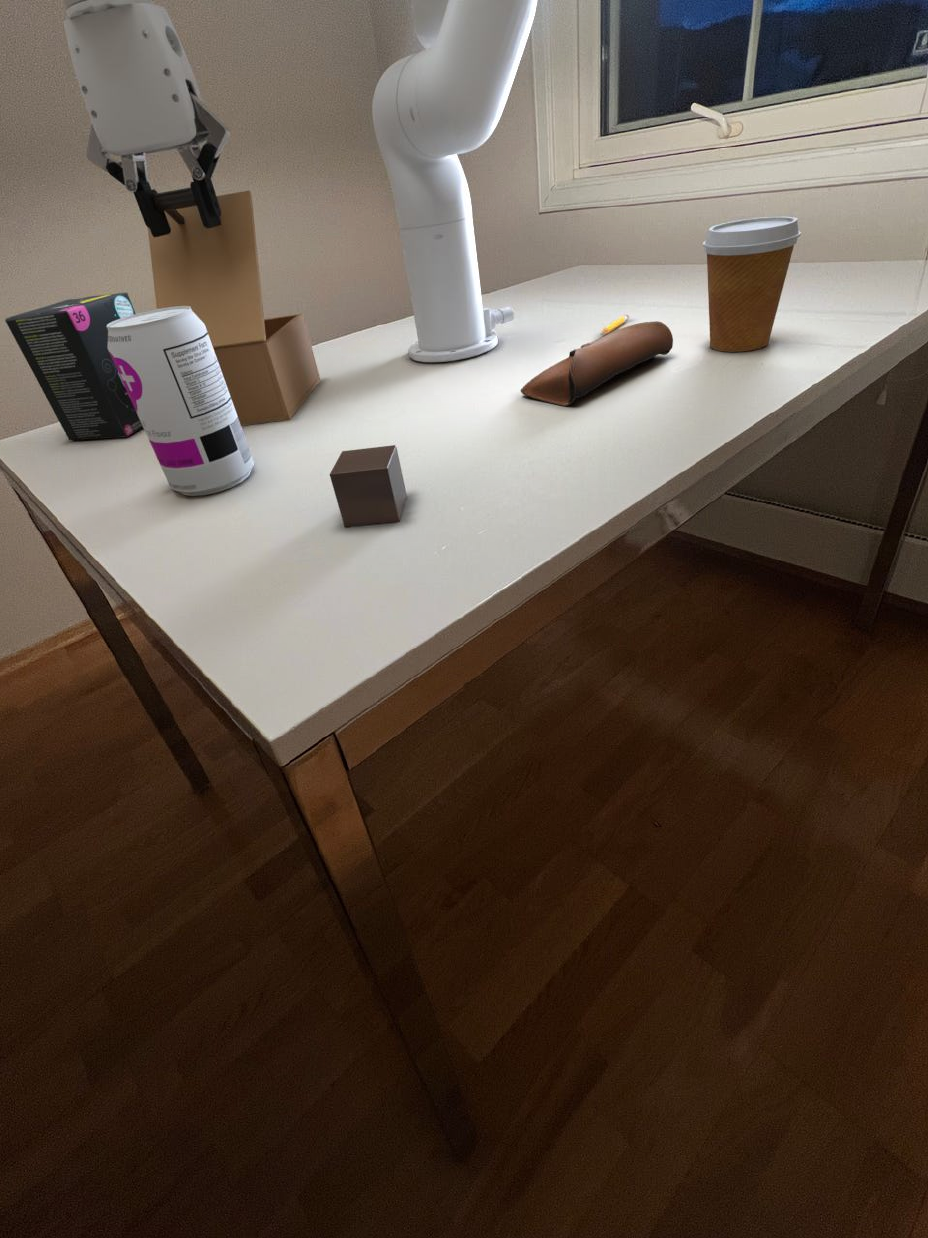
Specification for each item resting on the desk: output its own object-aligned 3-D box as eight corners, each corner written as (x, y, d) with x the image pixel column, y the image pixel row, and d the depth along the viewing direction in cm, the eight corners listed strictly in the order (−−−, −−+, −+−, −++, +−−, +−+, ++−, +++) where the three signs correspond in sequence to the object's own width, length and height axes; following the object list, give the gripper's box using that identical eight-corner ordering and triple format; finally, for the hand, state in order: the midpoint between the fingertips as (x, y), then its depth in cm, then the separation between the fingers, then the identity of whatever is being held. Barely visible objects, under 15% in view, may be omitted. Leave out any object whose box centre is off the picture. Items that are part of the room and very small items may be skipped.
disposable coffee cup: (678, 346, 76) (684, 231, 69) (742, 328, 78) (754, 214, 71) (735, 361, 69) (749, 234, 61) (804, 341, 71) (825, 215, 64)
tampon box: (128, 438, 78) (67, 309, 69) (67, 442, 80) (0, 318, 71) (177, 407, 86) (128, 289, 78) (120, 412, 89) (67, 297, 80)
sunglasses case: (611, 346, 78) (636, 296, 72) (653, 381, 76) (682, 332, 71) (514, 392, 69) (534, 339, 63) (559, 433, 67) (584, 382, 62)
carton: (237, 391, 88) (214, 326, 83) (321, 380, 87) (302, 313, 82) (193, 431, 76) (163, 357, 71) (290, 419, 75) (266, 343, 69)
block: (355, 501, 54) (342, 450, 51) (407, 495, 53) (396, 444, 50) (344, 526, 50) (329, 474, 47) (399, 521, 50) (387, 467, 47)
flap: (148, 210, 70) (118, 183, 65) (251, 192, 69) (229, 163, 64) (164, 355, 71) (136, 339, 66) (266, 341, 70) (245, 323, 65)
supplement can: (175, 507, 58) (96, 334, 49) (171, 477, 64) (101, 320, 56) (262, 482, 60) (201, 311, 51) (250, 455, 66) (194, 300, 58)
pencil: (629, 319, 89) (629, 314, 88) (603, 337, 84) (603, 331, 83) (623, 319, 89) (623, 314, 89) (597, 336, 84) (597, 331, 84)
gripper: (212, -19, 58) (275, 214, 68) (45, 19, 60) (131, 239, 71) (176, -37, 52) (252, 221, 62) (-8, 6, 54) (95, 248, 65)
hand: (187, 228), depth 66 cm, fingers closed on flap, 5 cm apart
